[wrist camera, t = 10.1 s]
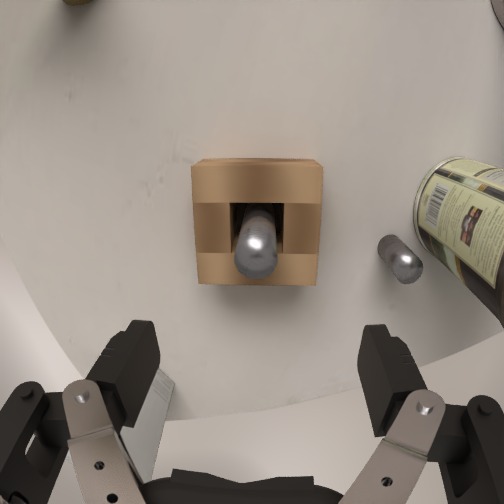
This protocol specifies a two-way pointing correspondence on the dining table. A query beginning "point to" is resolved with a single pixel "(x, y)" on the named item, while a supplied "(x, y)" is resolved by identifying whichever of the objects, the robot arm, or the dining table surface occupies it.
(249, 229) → the long pin
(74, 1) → the cork
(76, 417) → the robot arm
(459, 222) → the coffee can
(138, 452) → the skincare box
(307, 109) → the dining table surface
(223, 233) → the collar block
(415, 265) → the short pin
